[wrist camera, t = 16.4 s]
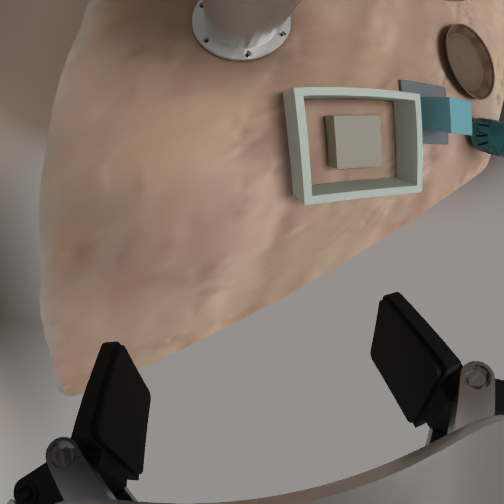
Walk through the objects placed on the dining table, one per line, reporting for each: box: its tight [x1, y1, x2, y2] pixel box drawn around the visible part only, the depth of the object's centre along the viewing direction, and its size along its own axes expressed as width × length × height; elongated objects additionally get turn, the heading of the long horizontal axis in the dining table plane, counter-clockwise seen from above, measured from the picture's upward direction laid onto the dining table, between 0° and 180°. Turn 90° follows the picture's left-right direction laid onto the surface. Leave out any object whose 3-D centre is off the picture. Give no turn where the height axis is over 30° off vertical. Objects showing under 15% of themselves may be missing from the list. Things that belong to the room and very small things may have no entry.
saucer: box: [445, 24, 495, 100], centre depth 30 cm, size 15×15×3 cm
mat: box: [399, 80, 448, 144], centre depth 35 cm, size 10×10×1 cm
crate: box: [283, 87, 423, 205], centre depth 34 cm, size 14×18×6 cm
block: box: [420, 97, 472, 135], centre depth 31 cm, size 5×5×8 cm
